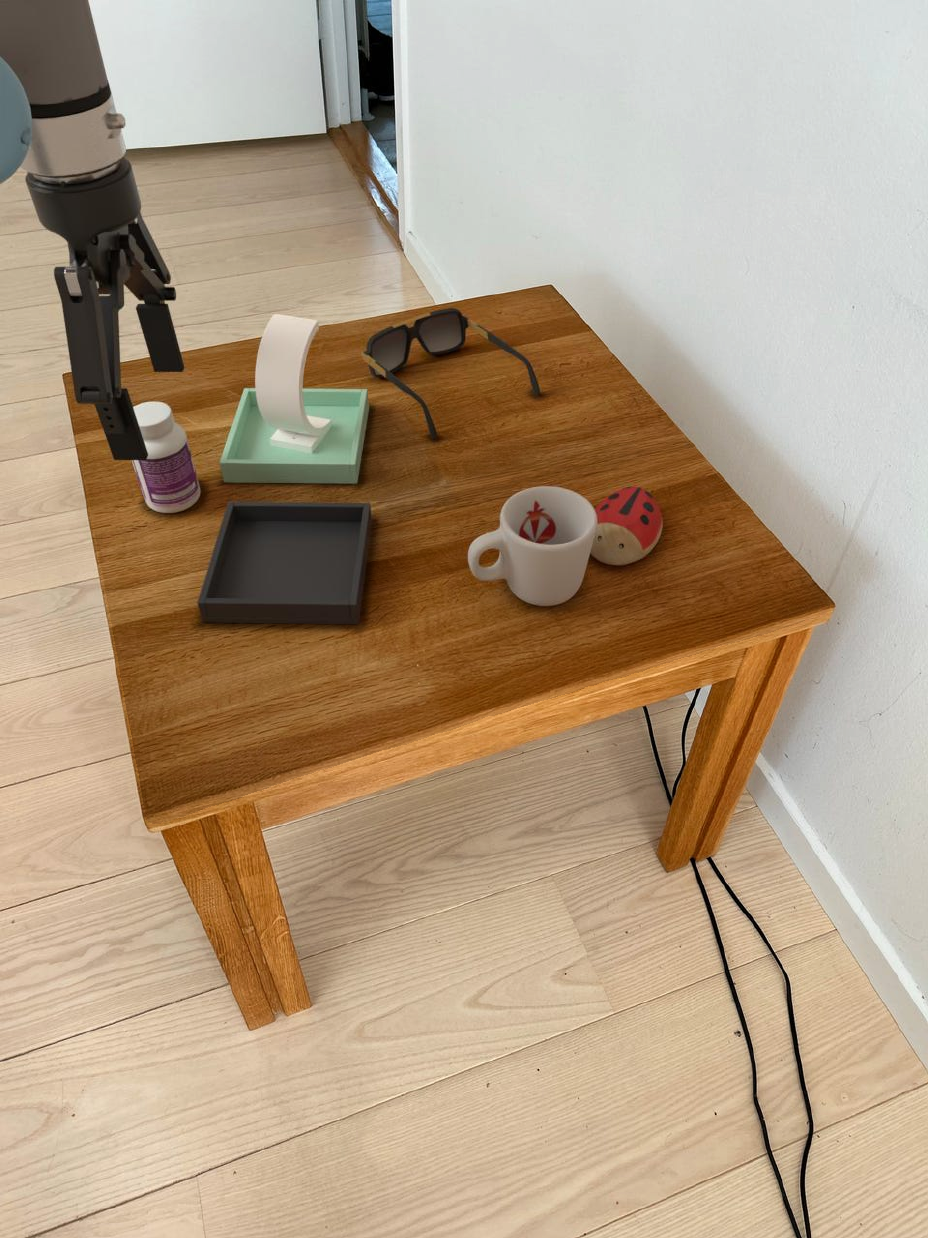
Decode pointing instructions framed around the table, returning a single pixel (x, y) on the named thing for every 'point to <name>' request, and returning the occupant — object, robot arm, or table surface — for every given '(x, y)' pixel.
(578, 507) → the cup
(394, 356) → the sunglasses
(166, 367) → the robot arm
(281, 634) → the table surface
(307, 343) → the headphone stand
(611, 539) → the ladybug figurine
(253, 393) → the mint tray
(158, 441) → the pill bottle
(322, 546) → the charcoal tray
